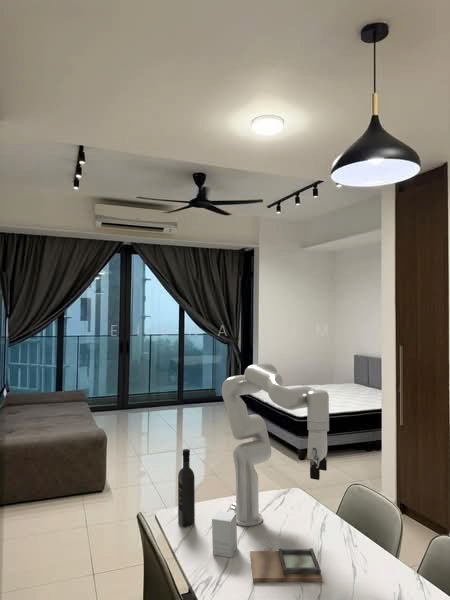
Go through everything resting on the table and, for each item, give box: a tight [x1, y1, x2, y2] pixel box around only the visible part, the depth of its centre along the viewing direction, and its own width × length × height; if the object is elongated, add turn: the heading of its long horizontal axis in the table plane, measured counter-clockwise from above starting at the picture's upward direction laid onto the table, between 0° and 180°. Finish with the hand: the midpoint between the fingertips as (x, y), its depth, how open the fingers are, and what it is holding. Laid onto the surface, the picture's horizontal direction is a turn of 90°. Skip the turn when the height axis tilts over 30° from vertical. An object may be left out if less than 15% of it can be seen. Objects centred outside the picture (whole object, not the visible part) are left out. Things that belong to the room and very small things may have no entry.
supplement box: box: [211, 510, 238, 558], centre depth 154 cm, size 7×7×13 cm
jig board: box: [249, 547, 323, 584], centre depth 143 cm, size 22×16×3 cm
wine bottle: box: [177, 448, 196, 528], centre depth 175 cm, size 6×6×30 cm
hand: (318, 474), depth 149 cm, fingers open, 9 cm apart
